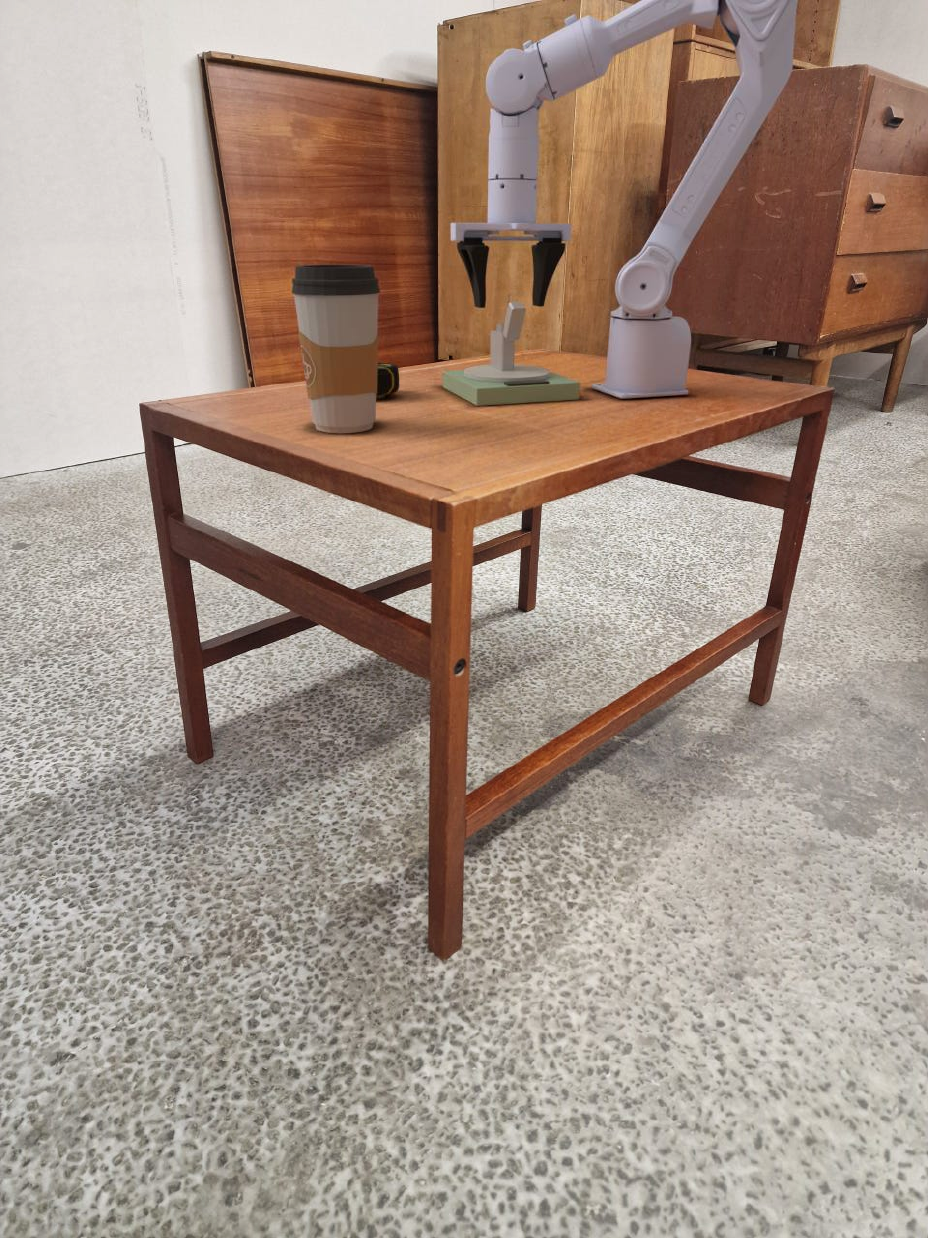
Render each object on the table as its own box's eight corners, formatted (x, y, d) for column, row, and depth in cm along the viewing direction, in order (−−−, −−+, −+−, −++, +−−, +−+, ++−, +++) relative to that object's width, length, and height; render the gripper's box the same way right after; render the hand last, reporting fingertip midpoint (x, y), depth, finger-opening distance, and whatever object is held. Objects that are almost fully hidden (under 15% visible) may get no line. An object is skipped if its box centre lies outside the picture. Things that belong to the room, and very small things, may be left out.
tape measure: (389, 390, 101) (387, 358, 99) (407, 399, 95) (406, 366, 93) (336, 393, 98) (334, 361, 96) (352, 403, 92) (350, 370, 91)
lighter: (489, 366, 101) (490, 298, 98) (502, 365, 102) (503, 298, 98) (510, 374, 95) (512, 302, 92) (523, 374, 96) (526, 302, 92)
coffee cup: (294, 421, 84) (280, 264, 77) (371, 415, 87) (364, 263, 80) (314, 439, 77) (300, 268, 70) (396, 431, 80) (391, 267, 73)
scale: (535, 381, 106) (536, 361, 105) (579, 399, 95) (580, 377, 94) (442, 386, 103) (442, 365, 102) (476, 406, 92) (476, 382, 90)
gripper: (463, 177, 87) (463, 310, 93) (585, 180, 91) (577, 307, 97) (445, 180, 93) (445, 305, 99) (559, 183, 97) (553, 303, 103)
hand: (509, 306), depth 98 cm, fingers open, 7 cm apart
